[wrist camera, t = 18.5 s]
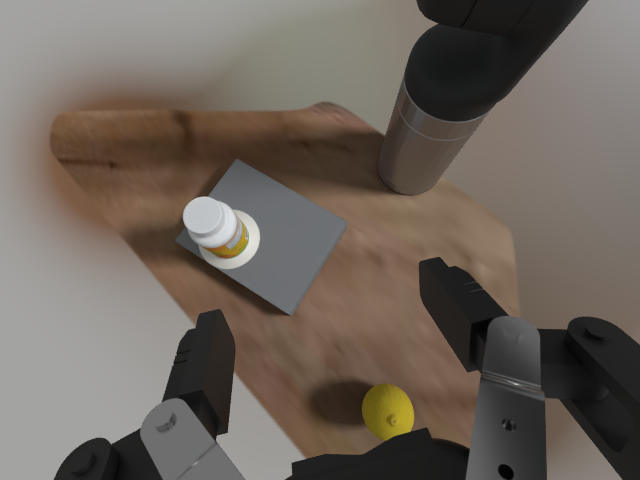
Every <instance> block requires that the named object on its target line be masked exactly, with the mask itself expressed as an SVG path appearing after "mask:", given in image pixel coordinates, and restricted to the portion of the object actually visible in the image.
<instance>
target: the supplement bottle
mask: <svg viewBox="0 0 640 480" xmlns="http://www.w3.org/2000/svg"><path fill="white" fill-rule="evenodd" d="M183 221H184V224H185V226H186V227H187V229H188V233H189V235H190V237H191V238H192V239H193V241H194V242H196V243H197V244H198V245H200V246H201V247H203V248H204V249H206V250H207V251H209V252H211V253H212V254H214V255H215V256H217V257H219V258H222V259H232V258H235V257H237V256H239V255H241V254H242V253H243V252H244V251H245V249H246V248H247V246H248V243H249V232H248V229H247V227H246V226H245V224H244V223H243V222H242V221H241V220H240V218H239V217H238V216H237V215H236V213H235V212H234V211H233V210H232V209H231V208H230V207H229V206H228V205H227V204H225V203H223V202H220V201H216V200H214V199H212V198H210V197H198V198H195V199H194V200H192V201H191V202H189V203H188V204H187V206H186V207H185V209H184V212H183Z"/></svg>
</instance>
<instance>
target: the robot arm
mask: <svg viewBox="0 0 640 480" xmlns="http://www.w3.org/2000/svg"><path fill="white" fill-rule="evenodd" d="M587 2H588V0H417V4H418V7H419V9H420V11H421V12H422V14H423V15H424V16H425V17H426V18H428V19H430V20H432V21H434V22H436V23H439V24H437V25H435V26H433V27H432V28H430V29H429V30H427V31H426V32H425V33H424V34H423V35H422V36H421V37H420V38H419V39H418V40H417V42H416V43H415V45H414V47H413V49H412V51H411V53H410V56H409V59H408V62H407V66H406V69H405V72H404V76H403V79H402V82H401V85H400V89H399V93H398V96H397V99H396V102H395V106H394V109H393V112H392V116H391V119H390V122H389V126H388V129H387V132H386V135H385V139H384V142H383V145H382V148H381V152H380V155H379V158H378V172H379V174H380V177H381V179H382V180H383V182H384V183H385V184H386V185H387V186H388V187H389V188H391V189H392V190H394V191H396V192H398V193H401V194H406V195H416V194H421V193H424V192H426V191H428V190H429V189H431V188H432V187H433V186H434V185H435V184H436V182H437V181H438V180H439V178H440V177H441V176H442V174H443V173H444V172H445V171H446V169H447V168H448V167H449V165H450V164H451V162H452V161H453V160H454V159H455V157H456V156H457V155H458V153H459V152H460V151H461V149H462V148H463V146H464V145H465V144H466V143H467V141H468V140H469V139H470V137H471V136H472V135H473V133H474V132H475V131H476V129H477V128H478V127H479V125H480V124H481V123H482V121H483V119H484V118H485V117H486V115H487V114H488V113H489V112H490V110H491V109H492V108H493V107H494V105H495V104H496V103H497V102H499V101H500V100H502V99H503V98H504V97H506V96H507V95H508V94H509V93H510V91H511V90H512V89H513V88H514V87H515V86H516V84H517V83H518V82H519V81H520V80H521V78H522V77H523V76H524V75H525V74H526V72H527V71H528V70H529V69H530V68H531V67H532V66H533V64H534V63H535V62H536V61H537V60H538V59H539V58H540V57H541V55H542V54H543V53H544V52H545V51H546V50H547V49H548V47H549V46H550V45H551V44H552V43H553V42H554V41H555V40H556V39H557V37H558V36H559V35H560V34H561V33H562V32H563V31H564V30H565V28H566V27H567V26H568V24H570V22H571V21H572V20H573V19H574V18H575V16H576V15H577V14H578V13H579V12H580V10H581V9H582V8H583V7H584V6H585V4H586V3H587ZM419 283H420V296H421V299H422V302H423V304H424V306H425V308H426V309H427V311H428V312H429V314H430V315H431V317H432V318H433V320H434V322H435V323H436V325H437V326H438V328H439V329H440V331H441V332H442V334H443V335H444V337H445V339H446V340H447V342H448V343H449V345H450V346H451V348H452V349H453V351H454V352H455V354H456V356H457V357H458V359H459V360H460V362H461V363H462V365H463V366H464V368H465V369H466V371H467V373H468V372H471V371H475V370H479V372H480V373H481V378H480V385H479V391H478V398H477V405H476V412H475V419H474V425H473V432H472V439H471V446H470V449H469V448H467V447H465V446H463V445H461V444H458V443H456V442H452V441H449V440H444V439H438V438H432V437H431V435H430V433H429V430H428V428H423V429H419V430H415V431H412V432H408V433H404V434H400V435H396V436H394V437H392V438H390V439H388V440H387V441H385V442H383V443H382V444H380V445H378V446H377V447H375V448H373V449H372V450H370V451H368V452H367V453H365V454H362V455H342V454H324V455H320V456H316V457H312V458H308V459H305V460H301V461H297V462H293V463H292V476H290V477H288V478H287V479H285V480H547V464H546V422H545V398H556V399H560V401H561V402H562V403H563V405H564V406H565V407H566V408H567V410H568V411H569V412H570V414H571V415H572V416H573V417H574V419H575V420H576V421H577V422H578V424H579V425H580V426H581V428H582V429H583V430H584V431H585V433H586V434H587V435H588V436H589V438H590V439H591V440H592V441H593V443H594V444H595V445H596V447H597V448H598V449H599V450H600V452H601V453H602V454H603V455H604V457H605V458H606V459H607V460H608V462H609V463H610V464H611V466H612V467H613V468H614V469H615V471H616V472H617V473H618V474H619V476H620V477H621V478H622V480H640V345H639V344H638V343H637V342H636V341H634V340H633V339H632V338H631V337H630V336H628V335H627V334H626V333H625V332H624V331H622V330H621V329H620V328H618V327H617V326H616V325H614V324H612V323H610V322H608V321H605V320H602V319H599V318H594V317H578V318H575V319H573V320H572V321H570V323H569V325H568V328H567V330H562V329H537V328H535V327H534V326H533V325H532V324H531V323H529V322H527V321H525V320H523V319H521V318H518V317H513V316H509V315H508V314H507V313H506V312H505V311H504V310H503V309H502V308H501V307H500V306H499V305H498V304H497V303H496V302H495V300H494V299H493V298H492V297H491V296H490V295H489V294H488V293H487V292H486V291H485V290H483V288H482V287H481V286H480V285H479V284H478V283H476V281H475V279H474V278H473V277H472V276H471V275H470V274H469V273H468V272H466V271H464V270H462V269H460V268H458V267H456V266H453V267H448V266H447V265H446V263H445V262H444V261H443V260H442V259H441V258H440V257H436V258H431V259H427V260H423V261H420V262H419ZM234 362H235V342H234V338H233V335H232V333H231V331H230V328H229V326H228V324H227V322H226V319H225V317H224V315H223V313H222V311H221V310H220V309H217V310H213V311H208V312H204V313H200V314H199V316H198V320H197V324H196V328H194V329H191V330H188V331H187V333H186V334H185V335H184V337H183V338H182V339H181V341H180V343H179V346H178V350H177V355H176V356H175V360H174V365H173V366H172V370H171V373H170V376H169V380H168V383H167V387H166V390H165V393H164V397H163V400H162V403H160V404H159V405H157V406H156V407H155V408H154V409H152V410H151V411H150V413H149V414H148V415H147V416H146V418H145V419H144V421H143V423H142V426H141V428H140V429H138V430H137V431H135V432H133V433H131V434H129V435H128V436H126V437H124V438H122V439H120V440H118V441H117V442H115V443H113V444H110V442H109V441H108V440H106V439H105V438H95V439H92V440H89V441H87V442H85V443H83V444H82V445H80V446H79V447H78V448H76V449H75V450H74V451H73V452H72V453H70V455H69V456H68V457H67V458H66V459H65V460H64V462H63V463H62V464H61V466H60V468H59V470H58V471H57V474H56V476H55V478H54V480H245V479H244V477H243V476H242V474H241V473H240V472H239V470H238V469H237V468H236V467H235V465H234V464H233V463H232V461H231V460H230V459H229V457H228V456H227V455H226V454H225V452H224V451H223V450H222V448H221V447H220V445H219V444H218V443H217V442H216V436H217V435H221V434H225V433H228V423H229V413H230V403H231V393H232V383H233V372H234Z"/></svg>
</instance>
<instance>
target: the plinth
mask: <svg viewBox="0 0 640 480" xmlns="http://www.w3.org/2000/svg"><path fill="white" fill-rule="evenodd" d="M208 197H210V198H212V199H214V200H216V201H220V202H223V203H225V204H227V205H228V206H229V207H230V208H231V209H232V210H233V211H234V212H235V213H236V215H237V216H238V217H239V218H240V220H241V221H242V222H243V223H244V224H245V226H246V227H247V229H248V232H249V243H248V246H247V248H246V249H245V251H244V252H243V253H242V254H241V255H239V256H237V257H235V258H232V259H222V258H219V257H217V256H215V255H214V254H212V253H211V252H209V251H207V250H206V249H204V248H203V247H201V246H200V245H198V244H197V243H196V242H194V241H193V239H192V238H191V237H190V235H189V233H188V229H187V227H186V226H185V228H184V229H183V230H182V232H181V233H180V234H179V236H178V237H177V238H176V240H175V242H177V243H178V244H180V245H181V246H183V247H185V248H186V249H188V250H189V251H191V252H192V253H194V254H195V255H197V256H199V257H200V258H202V259H203V260H205V261H206V262H208V263H209V264H211V265H213V266H214V267H216V268H217V269H219V270H220V271H222V272H223V273H225V274H227V275H228V276H230V277H231V278H233V279H234V280H236V281H237V282H239V283H241V284H242V285H244V286H245V287H247V288H248V289H250V290H251V291H253V292H255V293H256V294H258V295H259V296H261V297H262V298H264V299H266V300H267V301H269V302H270V303H272V304H273V305H275V306H276V307H278V308H280V309H281V310H283V311H284V312H286V313H287V314H289V315H291V316H292V315H293V314H294V312H295V310H296V309H297V307H298V306H299V304H300V302H301V301H302V299H303V298H304V296H305V294H306V293H307V291H308V290H309V288H310V286H311V285H312V283H313V282H314V280H315V278H316V277H317V275H318V273H319V272H320V270H321V269H322V267H323V265H324V264H325V262H326V261H327V259H328V257H329V256H330V254H331V253H332V251H333V249H334V248H335V246H336V244H337V243H338V241H339V240H340V238H341V236H342V235H343V233H344V232H345V230H346V228H347V223H348V222H347V221H345V220H343V219H342V218H340V217H338V216H336V215H335V214H333V213H331V212H329V211H328V210H326V209H324V208H322V207H321V206H319V205H317V204H315V203H314V202H312V201H310V200H308V199H307V198H305V197H303V196H301V195H300V194H298V193H296V192H294V191H293V190H291V189H289V188H287V187H286V186H284V185H282V184H280V183H279V182H277V181H275V180H273V179H272V178H270V177H268V176H266V175H265V174H263V173H261V172H259V171H258V170H256V169H254V168H252V167H251V166H249V165H247V164H245V163H244V162H242V161H240V160H238V159H237V158H236V160H235V161H234V162H233V164H232V165H231V166H230V168H229V169H228V170H227V172H226V173H225V174H224V176H223V177H222V178H221V180H220V181H219V182H218V184H217V185H216V186H215V188H214V189H213V190H212V192H211V193H210V194H209V196H208Z"/></svg>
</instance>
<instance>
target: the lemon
mask: <svg viewBox="0 0 640 480" xmlns="http://www.w3.org/2000/svg"><path fill="white" fill-rule="evenodd" d="M362 415H363V418H364V422H365V424H366V426H367V427H368V429H369V430H370V431H371V432H372V433H373V434H374V435H375V436H376V437H378V438H379V439H381V440H384V441H387V440H388V439H390V438H392V437H394V436H396V435H400V434H404V433H408V432H410V430H411V429H412V426H413V422H414V411H413V407H412V404H411V402H410V400H409V398H408V396H407V395H406V394H405V393H404V392H403V391H402V390H401V389H399V388H398V387H396V386H394V385H391V384H379V385H376V386H374V387H372V388H371V389H370V390H369V391H368V392H367V394H366V395H365V397H364V400H363V404H362Z"/></svg>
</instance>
